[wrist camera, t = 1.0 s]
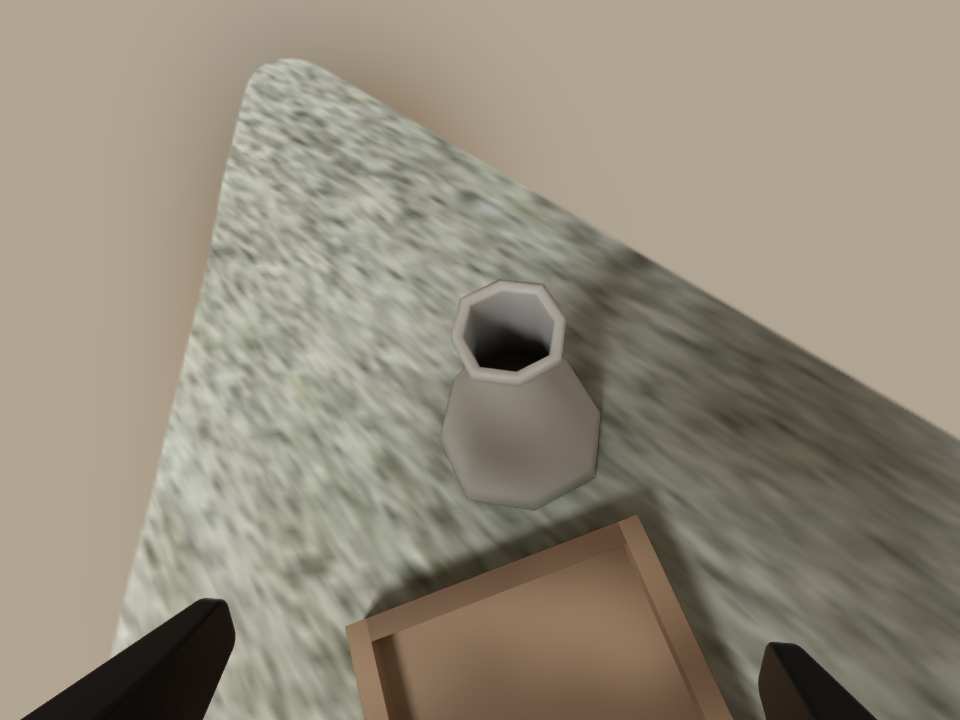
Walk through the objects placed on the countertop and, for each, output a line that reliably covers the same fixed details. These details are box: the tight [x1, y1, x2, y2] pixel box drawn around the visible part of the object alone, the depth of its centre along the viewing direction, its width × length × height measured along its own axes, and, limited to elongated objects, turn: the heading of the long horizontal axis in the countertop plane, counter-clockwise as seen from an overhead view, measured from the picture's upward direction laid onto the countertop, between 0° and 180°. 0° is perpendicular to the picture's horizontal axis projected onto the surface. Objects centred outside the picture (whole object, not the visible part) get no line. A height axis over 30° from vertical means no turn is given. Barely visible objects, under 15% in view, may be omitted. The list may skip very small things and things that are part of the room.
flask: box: [440, 279, 601, 511], centre depth 19 cm, size 7×7×10 cm
